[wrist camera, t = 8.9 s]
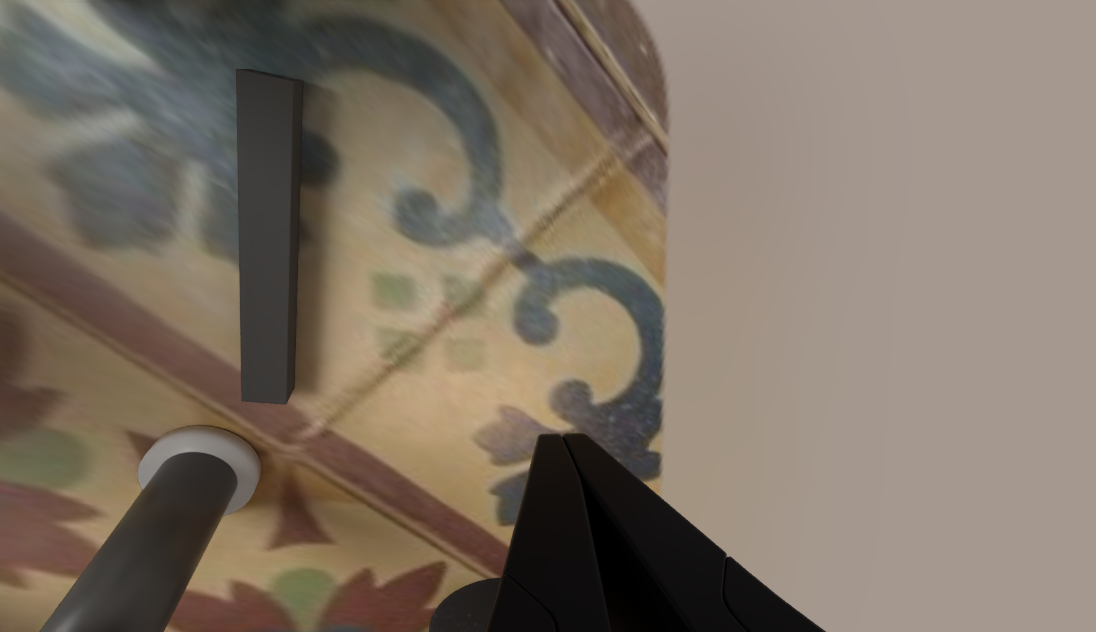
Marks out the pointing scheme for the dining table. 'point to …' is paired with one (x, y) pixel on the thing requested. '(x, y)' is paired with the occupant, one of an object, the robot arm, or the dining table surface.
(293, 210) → the dark grey rectangular bar
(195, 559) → the cord spool
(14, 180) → the dining table surface
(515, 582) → the robot arm
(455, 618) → the travel mug
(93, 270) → the dining table surface
